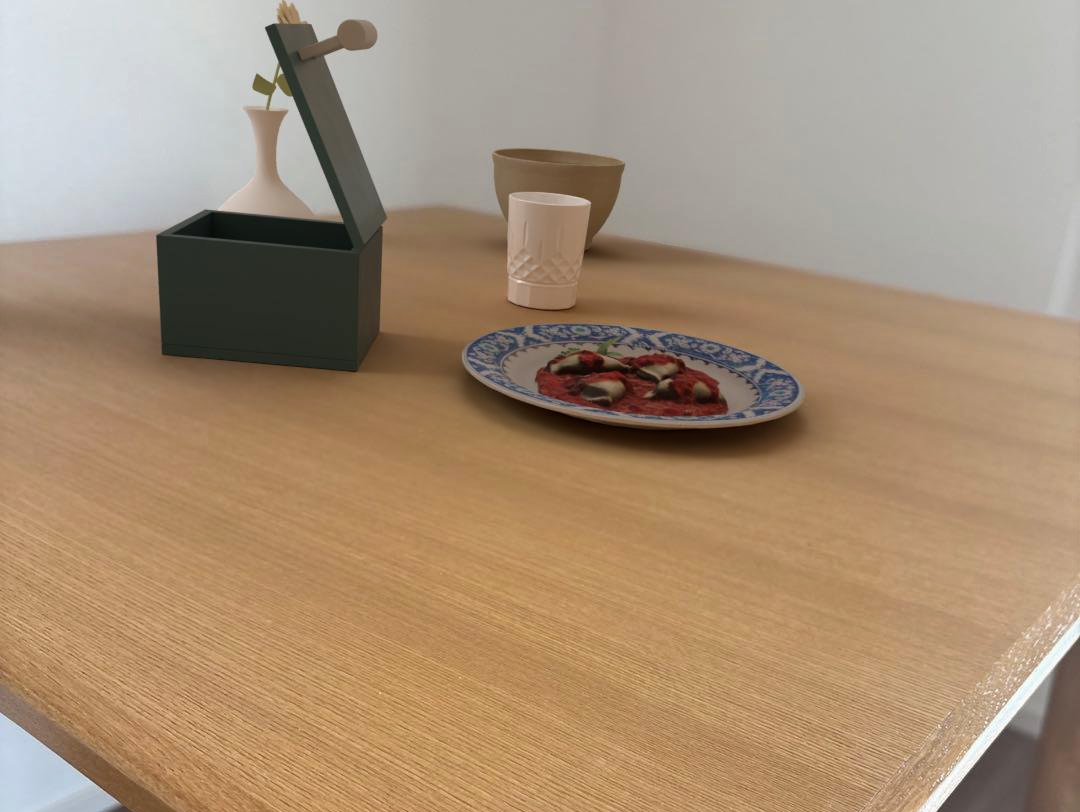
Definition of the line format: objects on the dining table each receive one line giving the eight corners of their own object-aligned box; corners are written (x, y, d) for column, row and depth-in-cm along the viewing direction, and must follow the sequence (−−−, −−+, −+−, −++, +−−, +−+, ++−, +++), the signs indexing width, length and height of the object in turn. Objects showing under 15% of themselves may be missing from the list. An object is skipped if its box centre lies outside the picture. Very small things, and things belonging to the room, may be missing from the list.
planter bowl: (553, 231, 152) (561, 146, 147) (641, 255, 141) (652, 164, 137) (460, 237, 141) (465, 146, 137) (547, 263, 131) (556, 165, 126)
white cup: (565, 316, 108) (575, 208, 103) (489, 303, 110) (496, 196, 106) (590, 301, 114) (601, 199, 110) (518, 289, 117) (526, 189, 112)
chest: (161, 354, 85) (155, 234, 81) (208, 315, 96) (204, 209, 92) (356, 371, 85) (359, 253, 81) (379, 330, 96) (382, 225, 93)
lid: (264, 27, 75) (344, -5, 74) (301, 27, 87) (371, -1, 86) (354, 249, 81) (429, 222, 80) (378, 221, 93) (444, 197, 92)
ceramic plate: (857, 460, 77) (866, 418, 76) (481, 449, 72) (484, 404, 71) (736, 355, 100) (742, 322, 99) (445, 342, 95) (447, 306, 94)
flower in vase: (266, 246, 125) (263, -3, 115) (195, 229, 131) (186, -11, 120) (346, 235, 135) (350, 6, 125) (277, 220, 141) (276, -1, 130)
